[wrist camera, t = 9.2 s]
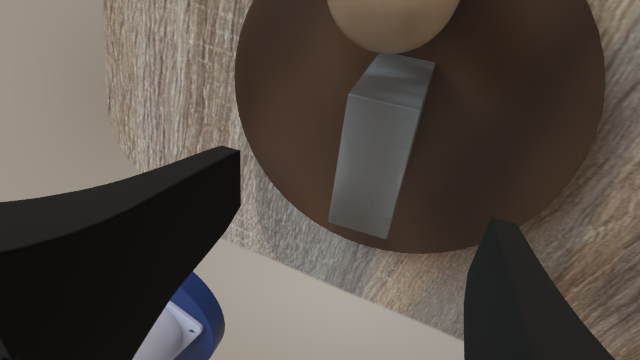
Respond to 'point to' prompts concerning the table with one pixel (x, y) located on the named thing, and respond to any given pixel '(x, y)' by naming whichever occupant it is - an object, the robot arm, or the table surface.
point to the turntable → (419, 111)
